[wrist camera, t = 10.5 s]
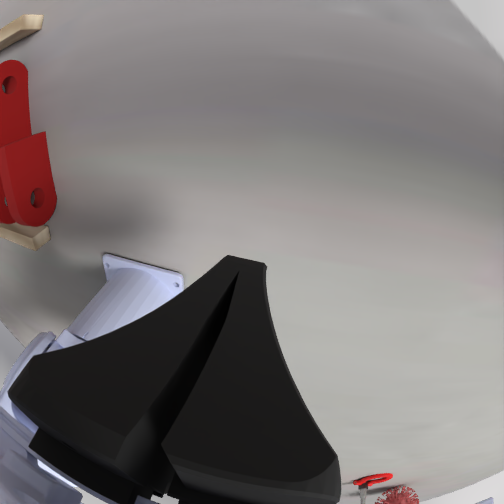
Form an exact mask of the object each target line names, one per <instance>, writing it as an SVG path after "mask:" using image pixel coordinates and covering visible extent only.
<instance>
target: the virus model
mask: <svg viewBox="0 0 504 504" xmlns="http://www.w3.org/2000/svg"><path fill="white" fill-rule="evenodd" d="M400 487H401V486H399V488H400ZM395 488H396V489H397V487H395ZM395 488H393V489H394V491H393V492H392V491H391V489H388V490H387V491H386V493H385V492H384V493H383V494H387V493H388V491H389V493H390V492H391V494H390V495H389V493H388V494H387V495H386V496H387V498H386V500H384V499H381V498H380V497H378V498H380V499H381V500H380V502H383V504H414V503H415V502H416V503H415V504H419V499H417V498H416V499H415V495H416V493H415V494H414V495H413V496H412V497H414V498H412V497H410V498H409V496H410V495H411V493H412V492H413V491H412V492H411V493H410V494H409V491H410V490H413V489H412V488H409V487H407V489H408V491H407V490H406V489H405V487H404V486H403V488H402V491H401V493H400V494H399V493H398V490H399V491H400V489H397V491H396V490H395ZM403 490H404V491H405V490H406V491H407V492H405V493H404V491H403ZM414 492H415V491H414ZM392 493H393V494H394V495H393V494H392ZM402 493H403V494H402ZM407 493H408V494H407ZM383 494H382V495H383ZM383 496H384V495H383ZM384 497H385V496H384ZM416 497H418V496H416ZM411 498H412V499H414V500H412V499H411ZM377 500H379V499H377ZM411 500H412V501H411ZM413 501H414V502H413ZM375 504H382V503H379V502H377V503H376V502H375Z"/></svg>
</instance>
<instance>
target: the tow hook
mask: <svg viewBox="0 0 504 504" xmlns="http://www.w3.org/2000/svg"><path fill="white" fill-rule="evenodd" d="M381 477H385V478H382V479H379V480H373V481H368V480H370V479H375V478H381ZM392 477H393V475H392V474H390V473H384V474H376V475H371V476H368V477H365V478H362V479H361V480H355V481H354V482H353V484H354V485H359V490H360V498H361V504H365V497H366V489H368V486H372V484H375V483H380V482H384V481H387V480H389V479H391V478H392Z"/></svg>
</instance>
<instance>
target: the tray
mask: <svg viewBox="0 0 504 504" xmlns="http://www.w3.org/2000/svg"><path fill="white" fill-rule="evenodd" d="M43 16H44V15H22V16H20V17H19V18H17V19H15V20H14V21H12V22H11V23H9V24H8V25H6V26H5V27H3V28H2V29H0V51H1V50H2V49H4V48H6V47H7V46H9V45H11V44H13V43H15V42H16V41H18V40H20V39H22V38H24V37H26V36H28V35H30V34H32V33H34V32H36V31H38V30H40V29H41V27H42V21H43ZM0 237H2V238H4V239H7V240H9V241H12V242H14V243H16V244H19V245H21V246H24V247H26V248H29V249H31V250H34V251H37V250H38V249H39V248H40V247H42V246H43V245H44V244H45V243H47V242H48V241H49V240H50V239H51V237H50V233H49V228H48V226H45V225H41V226H38V227H32V226H23V225H20V224H18V223H17V222H15V223H13V224H3V223H0Z"/></svg>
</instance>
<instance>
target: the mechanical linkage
mask: <svg viewBox="0 0 504 504" xmlns="http://www.w3.org/2000/svg"><path fill="white" fill-rule="evenodd" d="M2 84H3V85H4V87H5V93H4V92H3V90H2ZM32 192H34V195H35V200H34V203H33V205H32V204H31V194H32ZM5 197H6V201H7V205H8V206H6V204H5ZM56 202H57V196H56V192H55V187H54V182H53V177H52V172H51V166H50V161H49V154H48V148H47V140H46V132H41V133H38V134H35V135H32V133H31V124H30V113H29V98H28V71H27V69H26V67H25V66H24V65H23V64H22V63H21V62H19V61H17V60H8V61H5V62H3V63H1V64H0V223H3V224H13V223H15V222H17V223H18V224H20V225H23V226H32V227H38V226H41V225H43V224H45V223H46V222H47V221H48V220H49V219H50V218H51V216H52V214H53V212H54V210H55V207H56Z"/></svg>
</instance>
